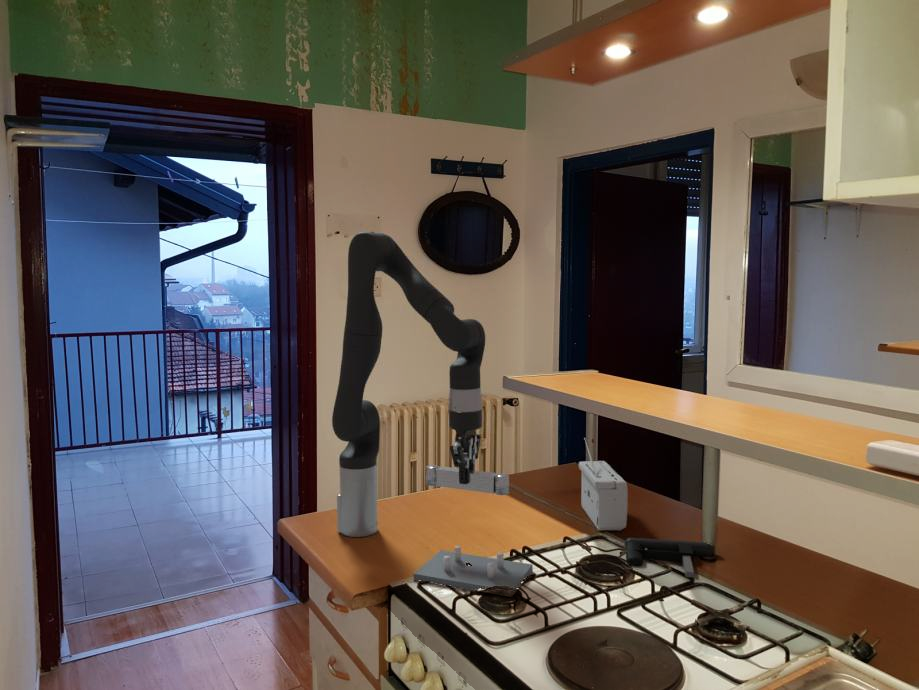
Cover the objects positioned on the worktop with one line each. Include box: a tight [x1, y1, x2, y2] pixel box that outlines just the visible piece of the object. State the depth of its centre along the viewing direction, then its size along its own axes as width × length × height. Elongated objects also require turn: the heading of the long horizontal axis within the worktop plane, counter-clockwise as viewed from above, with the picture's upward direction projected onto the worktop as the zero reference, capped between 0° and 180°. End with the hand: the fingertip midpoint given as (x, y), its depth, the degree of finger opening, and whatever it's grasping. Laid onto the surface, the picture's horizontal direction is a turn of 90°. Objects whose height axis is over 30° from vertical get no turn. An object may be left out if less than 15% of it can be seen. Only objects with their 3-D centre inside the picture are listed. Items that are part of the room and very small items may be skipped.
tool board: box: [412, 545, 534, 592], centre depth 151 cm, size 22×14×4 cm, turn 67°
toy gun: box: [624, 537, 716, 579], centre depth 158 cm, size 3×20×16 cm
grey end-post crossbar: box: [425, 464, 510, 496], centre depth 161 cm, size 20×3×4 cm, turn 68°
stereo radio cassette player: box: [578, 437, 629, 532], centre depth 185 cm, size 21×8×20 cm, turn 3°
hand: (466, 481), depth 161 cm, fingers closed on grey end-post crossbar, 2 cm apart
